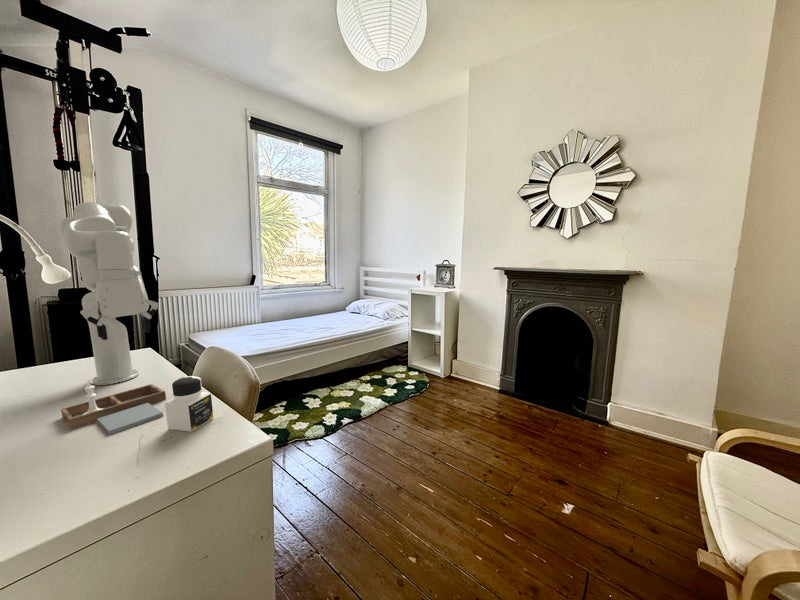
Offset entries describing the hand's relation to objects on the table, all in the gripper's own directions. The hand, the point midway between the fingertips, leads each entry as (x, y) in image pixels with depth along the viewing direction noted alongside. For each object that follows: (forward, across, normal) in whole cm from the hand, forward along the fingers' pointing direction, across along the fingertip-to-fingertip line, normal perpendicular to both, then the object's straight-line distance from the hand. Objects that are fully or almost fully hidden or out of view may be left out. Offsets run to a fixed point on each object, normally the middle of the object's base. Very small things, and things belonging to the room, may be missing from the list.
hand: (126, 335), depth 93 cm
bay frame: (+20, +4, 0) cm, 21 cm away
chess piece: (+21, +9, 0) cm, 23 cm away
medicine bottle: (+21, -3, +28) cm, 35 cm away
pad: (+20, +4, +11) cm, 24 cm away
